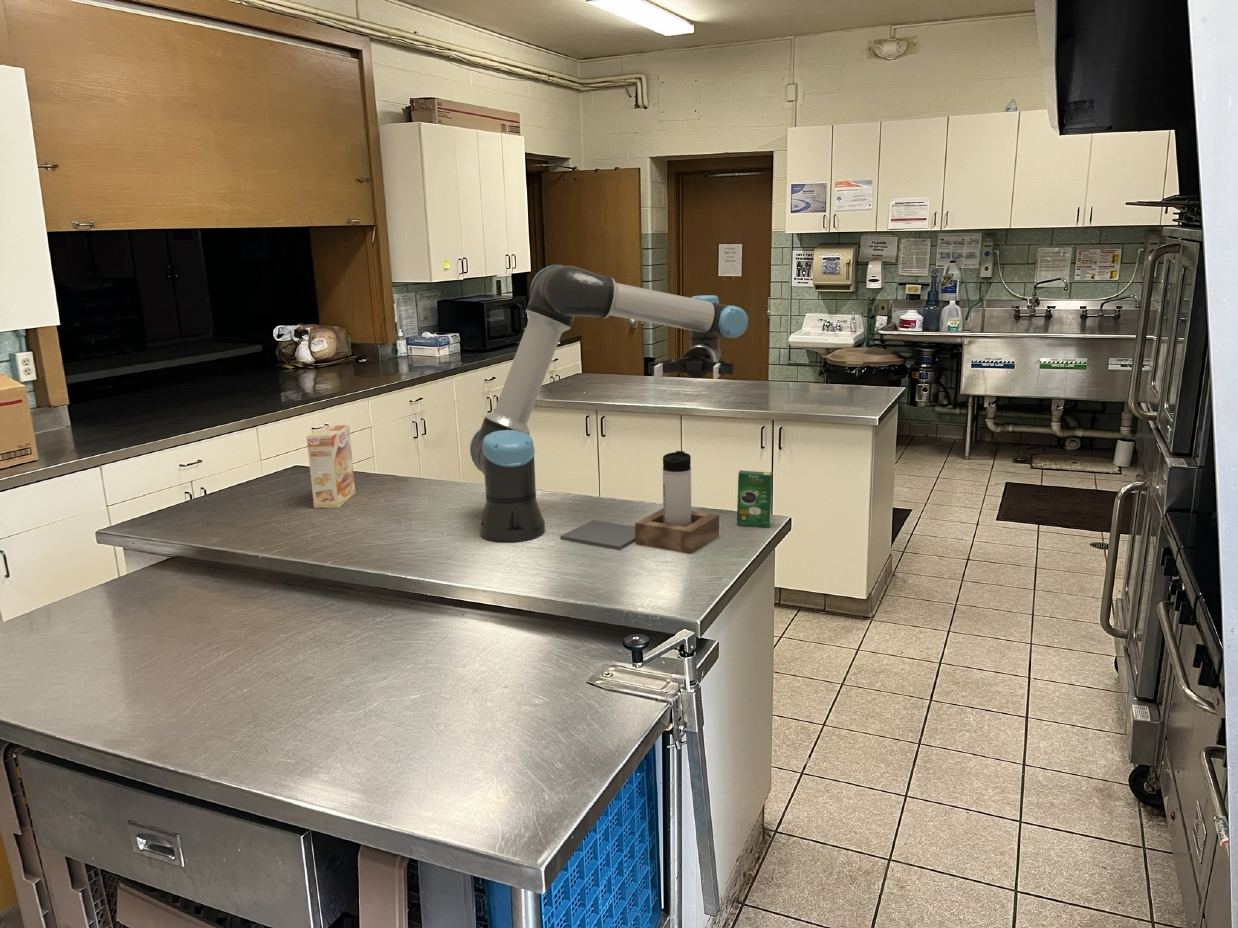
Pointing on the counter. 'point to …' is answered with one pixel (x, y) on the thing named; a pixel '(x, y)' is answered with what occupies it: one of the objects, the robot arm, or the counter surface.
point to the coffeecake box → (331, 466)
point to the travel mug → (677, 489)
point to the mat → (602, 534)
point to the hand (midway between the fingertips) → (685, 373)
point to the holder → (677, 532)
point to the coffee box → (754, 498)
